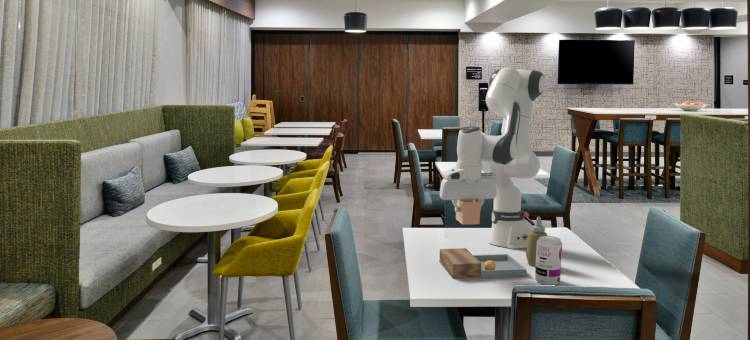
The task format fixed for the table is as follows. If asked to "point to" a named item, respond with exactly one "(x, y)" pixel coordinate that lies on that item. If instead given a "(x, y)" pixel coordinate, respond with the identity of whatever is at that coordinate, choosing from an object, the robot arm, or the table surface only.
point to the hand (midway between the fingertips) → (467, 211)
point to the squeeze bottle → (534, 241)
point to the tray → (501, 266)
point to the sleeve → (468, 211)
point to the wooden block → (460, 263)
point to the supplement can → (548, 260)
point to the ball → (489, 265)
